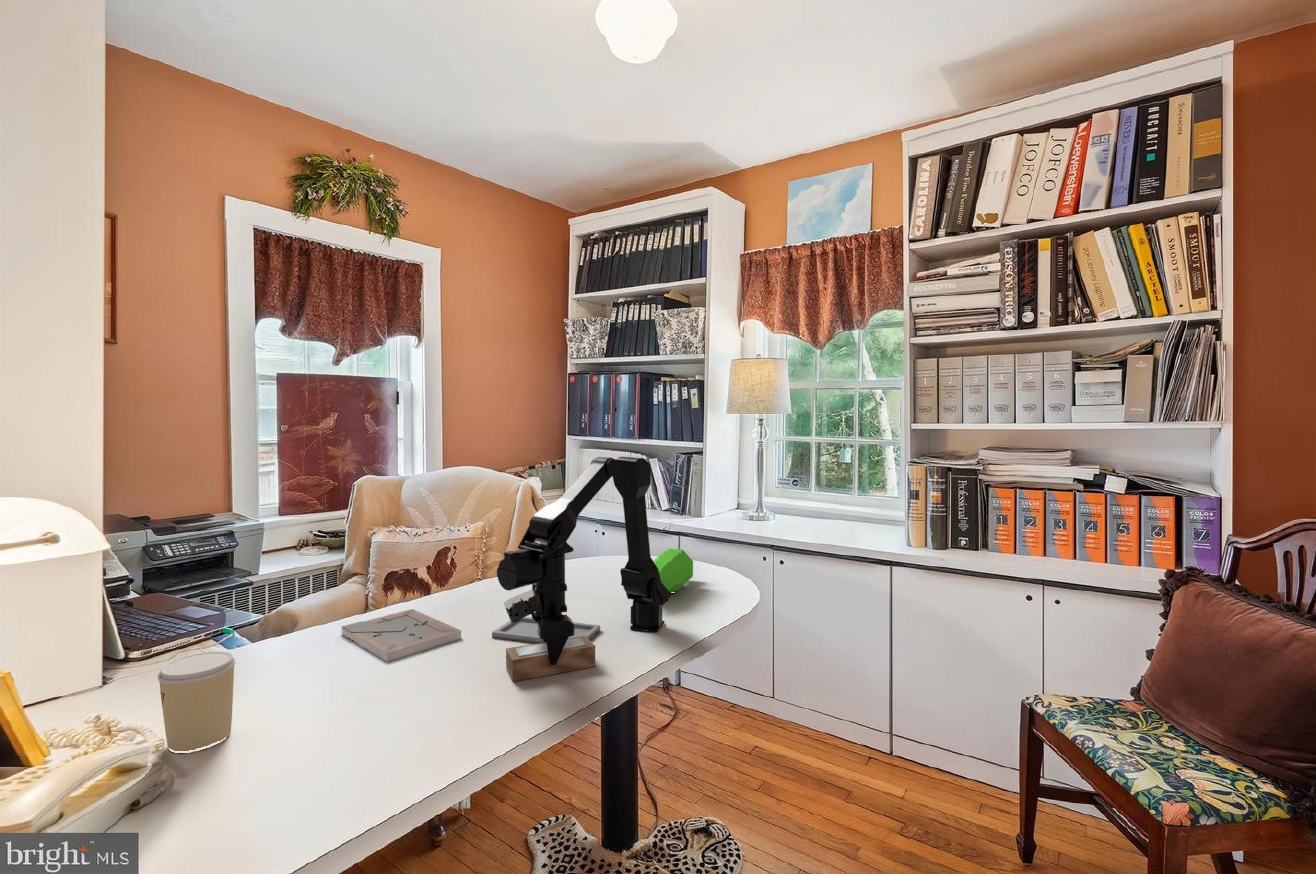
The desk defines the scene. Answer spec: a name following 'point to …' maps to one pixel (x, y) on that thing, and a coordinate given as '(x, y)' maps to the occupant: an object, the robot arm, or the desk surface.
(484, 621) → the desk surface
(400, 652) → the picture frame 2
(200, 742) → the coffee cup
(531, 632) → the display tray
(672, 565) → the green faceted polyhedron
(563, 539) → the robot arm
